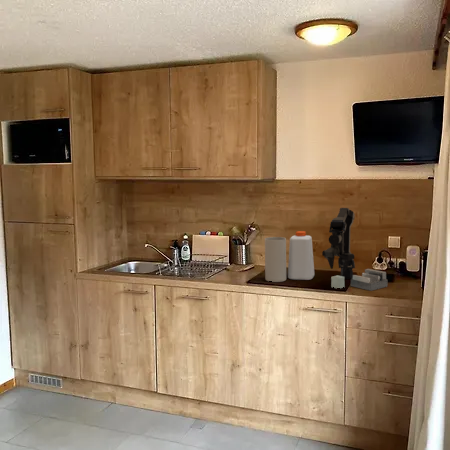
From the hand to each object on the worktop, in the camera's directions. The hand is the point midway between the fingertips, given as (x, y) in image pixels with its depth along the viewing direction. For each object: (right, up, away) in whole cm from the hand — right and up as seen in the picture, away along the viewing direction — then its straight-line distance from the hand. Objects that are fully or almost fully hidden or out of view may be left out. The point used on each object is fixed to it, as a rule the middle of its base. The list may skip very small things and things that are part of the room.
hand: (338, 270), depth 278 cm
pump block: (0, -10, +1) cm, 10 cm away
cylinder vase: (-32, -8, +22) cm, 40 cm away
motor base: (+17, -9, +1) cm, 20 cm away
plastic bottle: (-16, -7, +27) cm, 33 cm away
